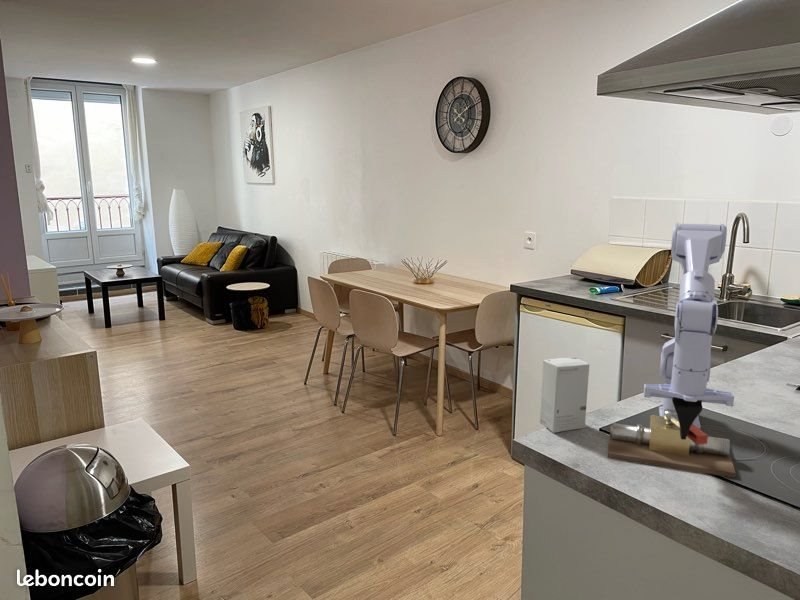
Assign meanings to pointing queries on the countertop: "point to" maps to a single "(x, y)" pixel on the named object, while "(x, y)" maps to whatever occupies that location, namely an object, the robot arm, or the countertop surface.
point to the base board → (671, 458)
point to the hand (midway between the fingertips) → (682, 437)
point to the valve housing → (668, 438)
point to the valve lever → (693, 432)
